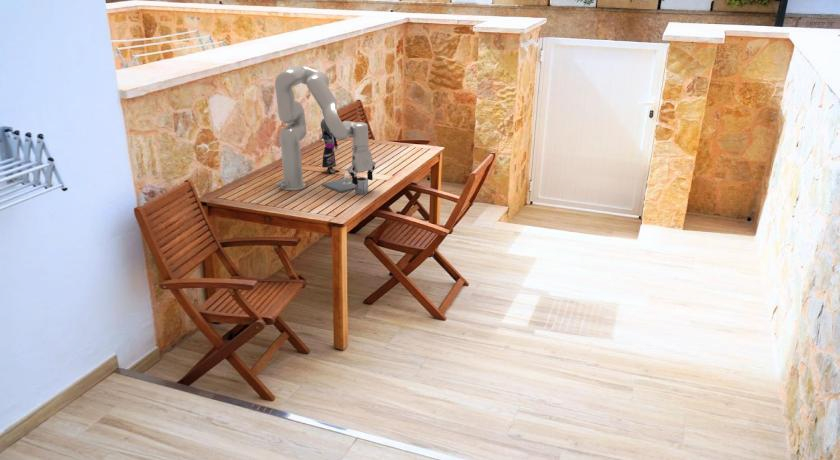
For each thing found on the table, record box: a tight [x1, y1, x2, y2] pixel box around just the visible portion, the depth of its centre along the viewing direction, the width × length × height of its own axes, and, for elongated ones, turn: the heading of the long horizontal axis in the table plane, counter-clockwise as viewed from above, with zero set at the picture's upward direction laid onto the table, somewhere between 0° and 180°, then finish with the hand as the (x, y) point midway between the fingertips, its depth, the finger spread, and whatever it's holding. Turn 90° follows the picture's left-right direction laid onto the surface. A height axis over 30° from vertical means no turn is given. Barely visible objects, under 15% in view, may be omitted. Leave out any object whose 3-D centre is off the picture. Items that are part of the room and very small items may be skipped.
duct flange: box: [321, 173, 355, 194], centre depth 346 cm, size 16×16×6 cm
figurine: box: [320, 118, 339, 175], centre depth 361 cm, size 17×8×30 cm, turn 168°
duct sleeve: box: [354, 176, 369, 196], centre depth 336 cm, size 7×6×7 cm
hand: (362, 181), depth 335 cm, fingers open, 9 cm apart
